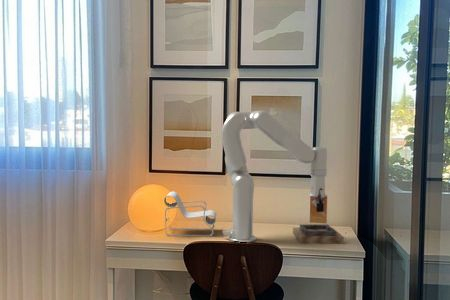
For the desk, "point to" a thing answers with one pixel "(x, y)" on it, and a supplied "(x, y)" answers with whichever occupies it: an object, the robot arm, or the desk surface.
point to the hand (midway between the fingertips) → (317, 209)
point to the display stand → (317, 234)
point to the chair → (190, 213)
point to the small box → (313, 214)
